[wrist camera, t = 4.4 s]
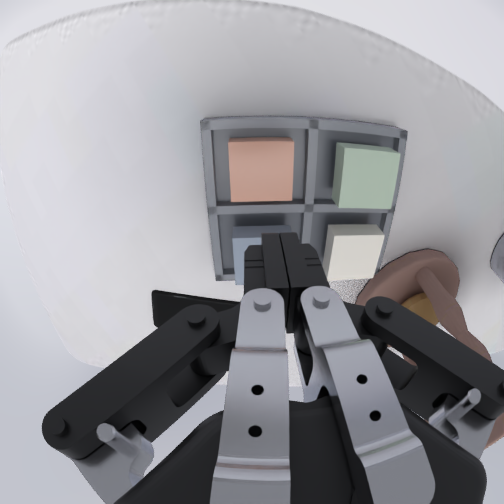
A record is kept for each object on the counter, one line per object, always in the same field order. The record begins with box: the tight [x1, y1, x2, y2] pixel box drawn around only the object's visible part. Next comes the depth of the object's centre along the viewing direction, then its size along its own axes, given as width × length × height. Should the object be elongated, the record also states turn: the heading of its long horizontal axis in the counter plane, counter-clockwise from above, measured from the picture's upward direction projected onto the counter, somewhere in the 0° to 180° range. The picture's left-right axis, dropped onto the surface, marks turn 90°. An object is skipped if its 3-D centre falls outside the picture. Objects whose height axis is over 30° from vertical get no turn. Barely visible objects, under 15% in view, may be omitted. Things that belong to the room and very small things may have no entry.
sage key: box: [332, 142, 400, 209], centre depth 20 cm, size 5×5×2 cm
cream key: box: [322, 224, 385, 281], centre depth 25 cm, size 5×5×2 cm
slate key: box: [232, 225, 292, 285], centre depth 25 cm, size 5×5×2 cm
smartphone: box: [152, 290, 239, 328], centre depth 35 cm, size 7×1×15 cm
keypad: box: [200, 116, 408, 281], centre depth 25 cm, size 18×16×2 cm
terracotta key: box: [228, 137, 294, 202], centre depth 22 cm, size 5×5×2 cm
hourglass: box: [356, 249, 504, 449], centre depth 24 cm, size 18×18×25 cm
